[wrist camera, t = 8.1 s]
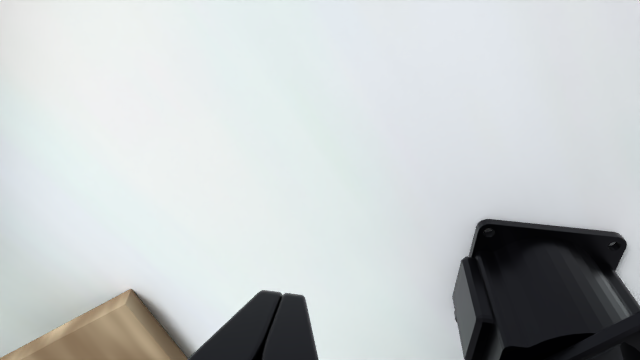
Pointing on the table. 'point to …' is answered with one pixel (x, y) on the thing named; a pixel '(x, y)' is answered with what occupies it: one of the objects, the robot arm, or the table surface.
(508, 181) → the table surface
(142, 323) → the square wooden board
